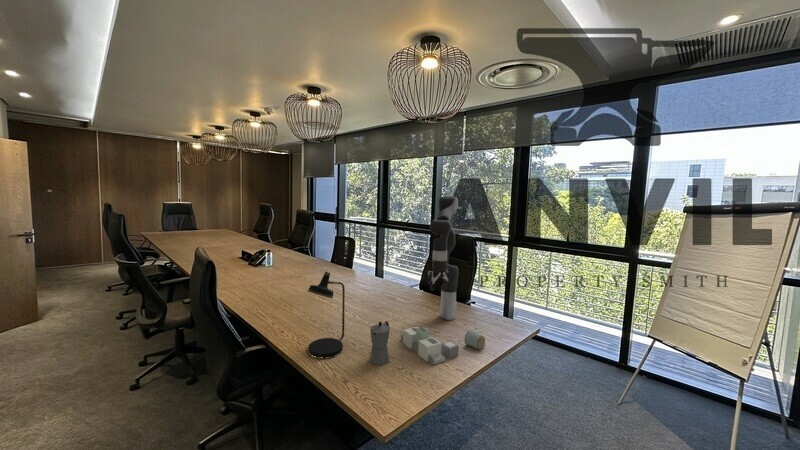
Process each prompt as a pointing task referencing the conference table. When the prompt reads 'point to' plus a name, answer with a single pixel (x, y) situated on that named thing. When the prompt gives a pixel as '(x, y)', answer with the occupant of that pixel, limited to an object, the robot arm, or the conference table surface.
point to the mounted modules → (422, 343)
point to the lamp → (335, 346)
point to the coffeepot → (379, 343)
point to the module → (421, 334)
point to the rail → (431, 359)
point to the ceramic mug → (474, 339)
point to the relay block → (449, 349)
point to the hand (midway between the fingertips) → (438, 289)
